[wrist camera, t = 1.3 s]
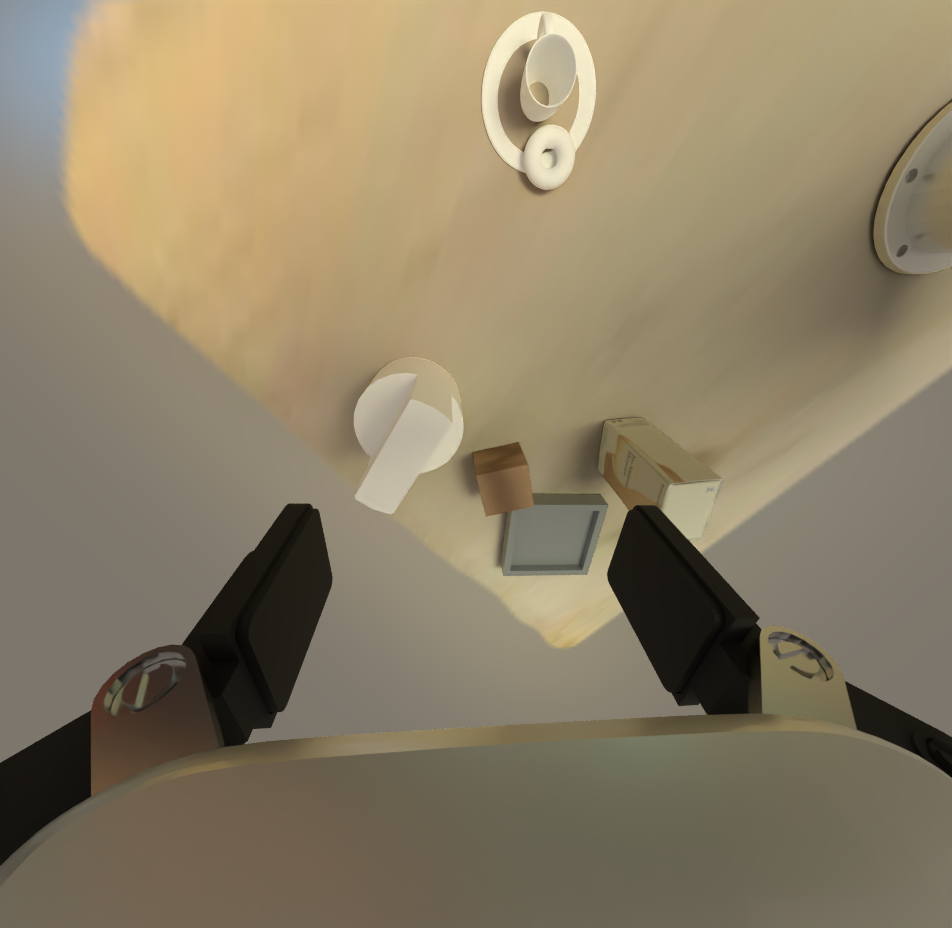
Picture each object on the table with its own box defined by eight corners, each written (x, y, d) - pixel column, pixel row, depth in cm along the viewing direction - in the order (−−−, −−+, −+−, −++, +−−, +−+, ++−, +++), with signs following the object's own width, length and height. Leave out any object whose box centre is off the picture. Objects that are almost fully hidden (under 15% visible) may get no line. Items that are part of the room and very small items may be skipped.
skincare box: (602, 419, 35) (669, 480, 25) (643, 415, 36) (726, 475, 25) (596, 471, 39) (652, 546, 28) (633, 468, 39) (703, 541, 28)
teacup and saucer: (566, 202, 27) (584, 190, 23) (467, 171, 25) (470, 153, 22) (611, 42, 23) (642, -2, 19) (496, -5, 21) (506, -62, 18)
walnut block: (518, 441, 36) (527, 464, 32) (524, 480, 39) (534, 506, 34) (472, 451, 36) (476, 475, 32) (481, 489, 39) (485, 516, 34)
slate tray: (600, 494, 40) (608, 505, 38) (581, 562, 45) (587, 574, 43) (509, 493, 39) (512, 504, 37) (500, 563, 44) (503, 575, 42)
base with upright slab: (432, 458, 36) (426, 532, 26) (353, 417, 33) (310, 482, 23) (478, 389, 33) (493, 441, 22) (394, 336, 30) (366, 368, 20)
